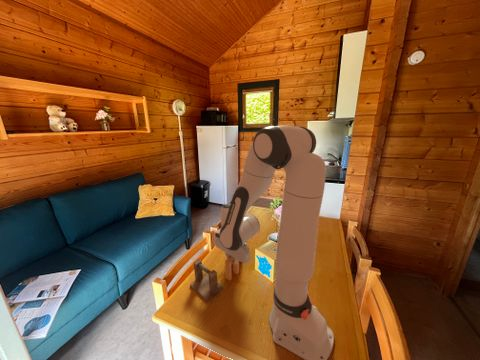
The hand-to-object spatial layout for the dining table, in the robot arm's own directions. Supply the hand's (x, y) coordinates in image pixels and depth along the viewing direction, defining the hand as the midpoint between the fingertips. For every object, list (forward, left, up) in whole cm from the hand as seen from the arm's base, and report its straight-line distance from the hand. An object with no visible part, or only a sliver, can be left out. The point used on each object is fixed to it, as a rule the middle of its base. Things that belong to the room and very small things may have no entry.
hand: (232, 261), depth 95 cm
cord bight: (0, 0, -8) cm, 8 cm away
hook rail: (+4, +13, -8) cm, 16 cm away
